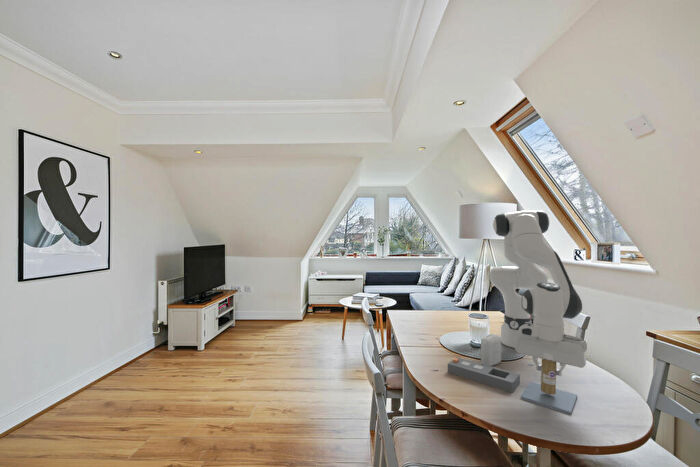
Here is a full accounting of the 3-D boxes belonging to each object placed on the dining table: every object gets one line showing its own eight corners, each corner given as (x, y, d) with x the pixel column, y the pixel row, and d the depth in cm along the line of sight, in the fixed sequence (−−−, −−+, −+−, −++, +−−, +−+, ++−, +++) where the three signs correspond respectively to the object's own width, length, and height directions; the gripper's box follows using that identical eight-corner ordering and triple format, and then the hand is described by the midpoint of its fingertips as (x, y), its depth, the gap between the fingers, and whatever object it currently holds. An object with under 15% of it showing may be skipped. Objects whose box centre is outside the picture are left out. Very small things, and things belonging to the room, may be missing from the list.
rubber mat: (530, 383, 116) (530, 381, 116) (577, 397, 106) (577, 394, 106) (520, 398, 105) (520, 396, 105) (570, 414, 96) (570, 412, 96)
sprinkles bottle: (547, 395, 103) (549, 355, 103) (537, 388, 108) (538, 350, 108) (559, 394, 104) (560, 354, 104) (548, 387, 109) (549, 349, 108)
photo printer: (493, 359, 138) (493, 331, 138) (502, 362, 135) (502, 333, 135) (479, 364, 133) (479, 335, 133) (488, 368, 129) (488, 338, 129)
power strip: (457, 365, 132) (457, 355, 132) (519, 383, 116) (519, 371, 116) (447, 372, 125) (447, 361, 125) (512, 392, 109) (512, 380, 109)
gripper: (588, 336, 101) (588, 378, 101) (518, 323, 115) (518, 361, 115) (585, 341, 96) (585, 385, 97) (513, 327, 110) (513, 366, 110)
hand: (548, 372), depth 106 cm, fingers closed on sprinkles bottle, 4 cm apart
